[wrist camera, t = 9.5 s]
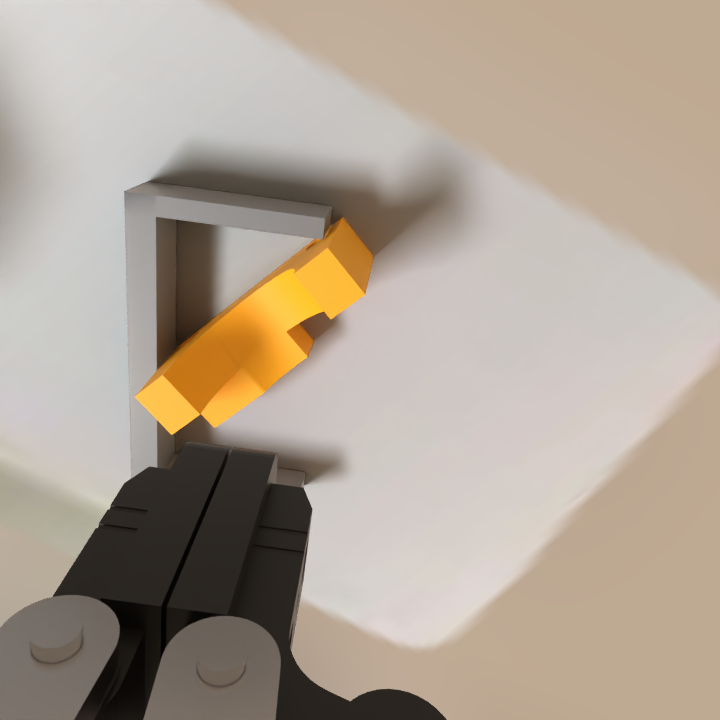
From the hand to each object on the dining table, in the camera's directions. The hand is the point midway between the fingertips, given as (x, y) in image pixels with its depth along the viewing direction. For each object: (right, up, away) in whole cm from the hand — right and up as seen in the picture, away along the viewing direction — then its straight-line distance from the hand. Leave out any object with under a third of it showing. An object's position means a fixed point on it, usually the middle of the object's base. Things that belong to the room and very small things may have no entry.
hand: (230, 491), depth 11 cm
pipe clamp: (-2, +5, +26) cm, 26 cm away
